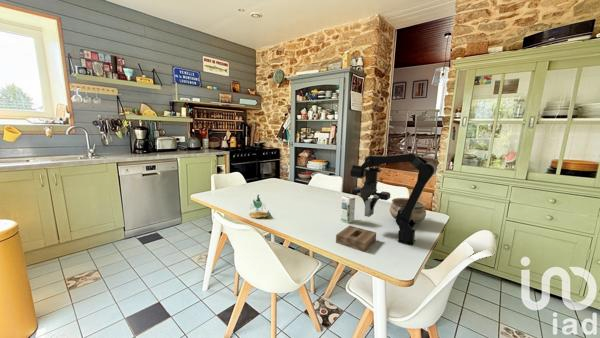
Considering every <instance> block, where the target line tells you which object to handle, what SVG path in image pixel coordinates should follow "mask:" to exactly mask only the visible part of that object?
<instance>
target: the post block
mask: <svg viewBox="0 0 600 338" xmlns="http://www.w3.org/2000/svg"><path fill="white" fill-rule="evenodd" d="M375 241H377V232H376V231H372V230H368V229H364V228H361V227H358V226H357V227H356V226H355V225H347V227H345V228H344V229H342V230H341V231H339V232H338V233H336V235H335V243H336V244H339V245H342V246H345V247H347V248H351V249H355V250H358V251H361V252H363V253H365V252H366V251H367V250H368V249H369V248H370V247H371V246H372V245H373V244H374V243H375Z"/></svg>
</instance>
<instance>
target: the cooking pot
mask: <svg viewBox="0 0 600 338" xmlns="http://www.w3.org/2000/svg"><path fill="white" fill-rule="evenodd" d="M408 199H409V197H396V198H392V199H391V204H390V208H389V213H390V215H391V216H392V217H393V219H394V220H396V218H395V217H396V216H397V214H398V210H399V209H400V208H401V207H403V208H405V206H406V203H407V201H408ZM426 216H427V211H426V203H425V202H423V201H421V200H420V199H419V200H418V202H417V204H416V206H415V208H414V212H413V217H412V219H413V221H414V222H415V223H416V224H418V223H421V222H423V221H424V219H425V218H426Z"/></svg>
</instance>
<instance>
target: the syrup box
mask: <svg viewBox="0 0 600 338" xmlns="http://www.w3.org/2000/svg"><path fill="white" fill-rule="evenodd" d="M355 208H356V197H354V196H350V195H344V196H342V197H341V210H340V221H341V222H343V223H346V224H350V223H353V222H355V213H356V212H355Z"/></svg>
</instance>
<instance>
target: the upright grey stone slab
mask: <svg viewBox="0 0 600 338" xmlns="http://www.w3.org/2000/svg"><path fill="white" fill-rule="evenodd" d="M371 206H372V198H371V197H369V198H368V200H366V201H365V204H364V215H363V216H364V217H368V218H370V217H371V216H373V214H374V212H375V207H374V208H373V210H371Z"/></svg>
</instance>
